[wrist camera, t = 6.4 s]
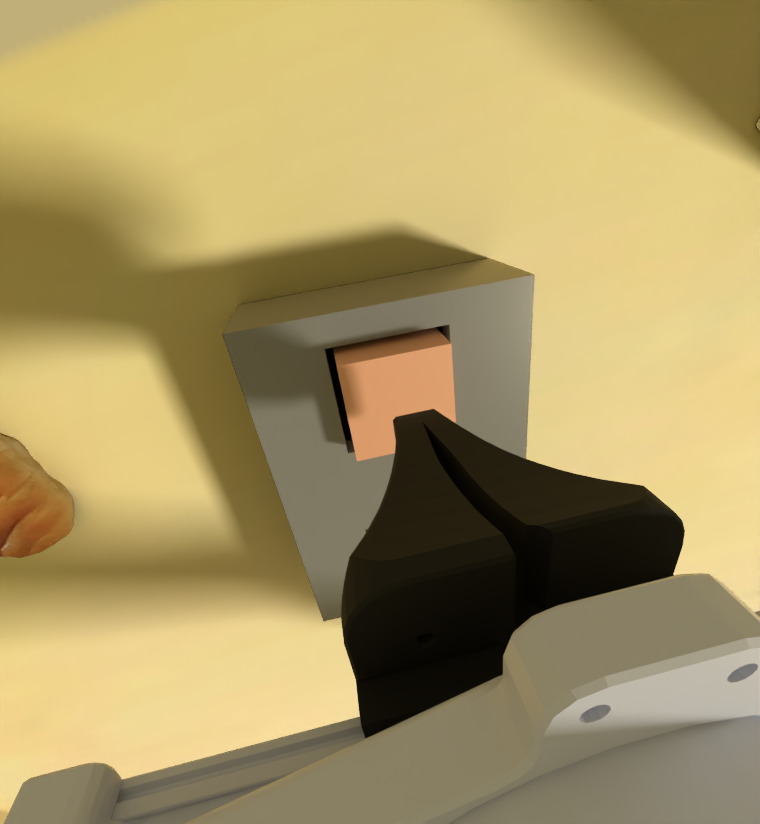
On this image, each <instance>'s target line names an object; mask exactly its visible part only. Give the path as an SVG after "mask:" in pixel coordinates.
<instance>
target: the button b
mask: <svg viewBox="0 0 760 824" xmlns="http://www.w3.org/2000/svg"><path fill="white" fill-rule="evenodd" d="M333 351H334V356H335V361H336V366H337V371H338V375H339V380H340V385H341V389H342V394H343V399H344V403H345V408H346V413H347V417H348V422H349V427H350V431H351V436H352V440H353V445H354V450H355V454H356V459H357V461H361V460H366V459H371V458H375V457H380V456H384V455H389V454H393V453H395V446H396V439H395V433H394V426H393V420H394V418H395V417H397V416H402V415H406V414H411V413H416V412H421V411H425V410H430V409H435V410H436V411H438V412H439V413H441V414H442V415H444V416H445V417H447V418H448V419H450V420H451V421H453V422H454V423H456V414H455V396H454V379H453V362H452V344H451V343H450V342H449V341H448V340H447V339H446V337H445V336H444V335H443V334H442V333H441V332H440V331H439V330H438V329H437V328H436V327H434V328H429V329H424V330H419V331H413V332H408V333H403V334H398V335H393V336H388V337H383V338H378V339H373V340H368V341H363V342H358V343H353V344H347V345H342V346H337V347H333Z"/></svg>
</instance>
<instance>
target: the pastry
mask: <svg viewBox="0 0 760 824" xmlns="http://www.w3.org/2000/svg"><path fill="white" fill-rule="evenodd" d="M73 524H74V503H73V498H72V496H71V494H70V493H69V492H68V490H67V489H66V487H65V486H64V485H63V484H62V483H60V482H59V481H57V480H55V479H53V478H52V477H51V476H49V475H48V474H47V473H46V472H45V470H44V469H43V468H42V466H41V465H40V464H39V463H38V462H37V461H36V460H34V459H33V457H32V456H31V455H30V453H29V452H28V450H27V449H26V448H25V447H24V446H23V445H22V444H21V443H20V442H19V441H18V440H16V439H14V438H12V437H7V436H4V435H2V434H1V433H0V557H1V556H4V557H7V556H11V557H18V558H20V557H26V556H29V555H32V554H35V553H39V552H41V551H43V550H45V549H47V548H48V547H50V546H52V545H54V544H55V543H56V542H58V541H59V540H60V539H62V538H64V537H66V536H67V535H68V534H69V533H70V531H71V530H72V527H73Z"/></svg>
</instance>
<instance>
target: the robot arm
mask: <svg viewBox="0 0 760 824" xmlns="http://www.w3.org/2000/svg"><path fill="white" fill-rule="evenodd" d="M393 426H394V433H395V439H396V446H395V456H394V461H393V467H392V472H391V476H390V479H389V483H388V486H387V489H386V492H385V494H384V497H383V500H382V502H381V505H380V507H379V509H378V511H377V513H376V515H375V517H374V519H373V521H372V523H371V524H370V526H369V528H368V530H367V532H366V533H365V535H364V537H363V538H362V540H361V541H360V542H359V544H358V545H357V547H356V548H355V550H354V551H353V552H352V554H351V555H350V557H349V561H348V565H347V570H346V574H345V580H344V585H343V593H342V603H341V619H342V628H343V637H344V644H345V647H346V650H347V654H348V657H349V660H350V663H351V666H352V669H353V672H354V675H355V678H356V684H357V693H358V703H359V712H360V717H357V718H353V719H349V720H346V721H342V722H338V723H334V724H331V725H327V726H323V727H319V728H315V729H312V730H308V731H304V732H300V733H297V734H293V735H289V736H285V737H281V738H278V739H274V740H270V741H266V742H263V743H259V744H255V745H251V746H248V747H244V748H240V749H236V750H232V751H229V752H225V753H221V754H217V755H214V756H210V757H206V758H202V759H198V760H195V761H191V762H187V763H183V764H180V765H176V766H172V767H168V768H165V769H161V770H157V771H153V772H149V773H146V774H142V775H138V776H134V777H131V778H127V779H123V780H122V779H121V777H120V776H119V774H118V773H117V772H116V770H115V769H114V768H112V767H111V766H109V765H107V764H103V763H88V764H83V765H79V766H75V767H71V768H67V769H63V770H60V771H56V772H52V773H48V774H44V775H40V776H37V777H33V778H30V779H28V780H27V781H25V782H24V783H23V784H22V786H21V788H20V790H19V792H18V795H17V797H16V799H15V801H14V803H13V805H12V807H11V809H10V811H9V813H8V816H7V818H6V820H5V822H4V824H760V611H757V612H753V611H752V610H751V609H750V608H749V607H748V606H747V605H746V604H745V603H744V602H743V601H742V600H740V599H739V598H738V597H737V596H736V595H735V594H734V593H733V592H732V591H731V590H730V589H729V588H728V587H727V586H725V585H724V584H723V583H722V582H720V581H719V580H717V579H716V578H714V577H713V576H711V575H710V574H702V573H698V574H683V575H675V576H674V575H673V573H674V570H675V567H676V564H677V561H678V558H679V555H680V552H681V548H682V545H683V539H684V532H685V531H684V527H683V522H682V520H681V519H680V518H679V517H678V516H677V514H676V513H675V512H674V511H672V510H671V509H670V508H669V507H668V506H667V505H665V504H664V503H663V502H662V501H661V500H660V499H659V498H657V497H656V496H655V495H654V494H653V493H652V492H650V491H649V490H648V489H647V488H645V487H644V486H641V485H634V484H628V483H621V482H614V481H608V480H601V479H596V478H591V477H587V476H582V475H578V474H573V473H569V472H566V471H562V470H558V469H555V468H552V467H548V466H545V465H542V464H539V463H536V462H533V461H530V460H527V459H525V458H522V457H520V456H517V455H515V454H512V453H510V452H507V451H505V450H503V449H501V448H499V447H497V446H495V445H493V444H491V443H489V442H487V441H485V440H483V439H481V438H479V437H478V436H476V435H474V434H472V433H471V432H469V431H467V430H466V429H464V428H462V427H461V426H459V425H458V424H456V423H454V422H453V421H451V420H450V419H448V418H447V417H445V416H444V415H442V414H441V413H439V412H438V411H436V410H435V409H430V410H425V411H421V412H416V413H411V414H406V415H402V416H397V417H395V418H394V420H393Z"/></svg>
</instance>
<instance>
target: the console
mask: <svg viewBox="0 0 760 824" xmlns="http://www.w3.org/2000/svg"><path fill="white" fill-rule="evenodd" d="M533 296H534V274H531V273H529V272H526V271H523V270H520V269H518V268H515V267H512V266H509V265H506V264H504V263H501V262H498V261H495V260H493V259H490V258H488V259H483V260H477V261H472V262H466V263H461V264H456V265H450V266H445V267H439V268H434V269H429V270H423V271H418V272H412V273H407V274H402V275H396V276H391V277H386V278H380V279H375V280H369V281H364V282H359V283H353V284H348V285H342V286H337V287H332V288H326V289H321V290H315V291H310V292H305V293H299V294H294V295H288V296H283V297H278V298H272V299H267V300H262V301H256V302H251V303H245V304H240V305H238V307H237V308H236V310H235V312H234V314H233V316H232V317H231V319H230V321H229V323H228V325H227V326H226V328H225V330H224V332H223V334H222V335H223V338H224V340H225V343H226V346H227V349H228V352H229V355H230V357H231V360H232V363H233V366H234V369H235V372H236V374H237V377H238V380H239V383H240V386H241V389H242V391H243V394H244V397H245V400H246V403H247V406H248V408H249V411H250V414H251V417H252V420H253V423H254V425H255V428H256V431H257V434H258V437H259V440H260V442H261V445H262V448H263V451H264V454H265V456H266V459H267V462H268V465H269V468H270V471H271V473H272V476H273V479H274V482H275V485H276V488H277V490H278V493H279V496H280V499H281V502H282V505H283V507H284V510H285V513H286V516H287V519H288V522H289V524H290V527H291V530H292V533H293V536H294V539H295V541H296V544H297V547H298V550H299V553H300V556H301V558H302V561H303V564H304V567H305V570H306V572H307V575H308V578H309V581H310V584H311V587H312V589H313V592H314V595H315V598H316V601H317V604H318V606H319V609H320V612H321V615H322V618H323V621H327V620H331V619H335V618H339V617H341V603H342V593H343V585H344V580H345V574H346V570H347V565H348V561H349V557H350V555H351V554H352V552H353V551H354V550H355V548H356V547H357V545H358V544H359V542H360V541H361V540H362V538H363V537H364V535H365V533H366V529H368V528H369V526H370V524H371V523H372V521H373V519H374V517H375V515H376V513H377V511H378V509H379V507H380V505H381V502H382V500H383V497H384V494H385V492H386V489H387V486H388V483H389V479H390V476H391V472H392V467H393V461H394V456H395V453H393V454H389V455H384V456H380V457H375V458H371V459H366V460H361V461H357V459H356V454H355V450H354V445H353V440H352V439H350V440H345V435H344V431H343V426H342V422H341V417H340V413H339V408H338V404H337V399H336V395H335V391H334V386H333V382H332V377H331V373H330V368H329V364H328V359H327V355H326V351H325V349H327V348H332V347H337V346H342V345H347V344H353V343H358V342H363V341H368V340H373V339H378V338H383V337H388V336H393V335H398V334H403V333H408V332H413V331H419V330H424V329H429V328H434V327H439V326H442V334H443V335H444V336H445V337H446V339H447V340H448V341H449V342H450V343H451V344H452V362H453V379H454V396H455V414H456V424H458V425H459V426H461V427H462V428H464V429H466V430H467V431H469V432H471V433H472V434H474V435H476V436H478V437H479V438H481V439H483V440H485V441H487V442H489V443H491V444H493V445H495V446H497V447H499V448H501V449H503V450H505V451H507V452H510V453H512V454H515V455H517V456H520V457H522V458H525V459H526V446H527V425H528V403H529V382H530V360H531V339H532V317H533Z"/></svg>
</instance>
